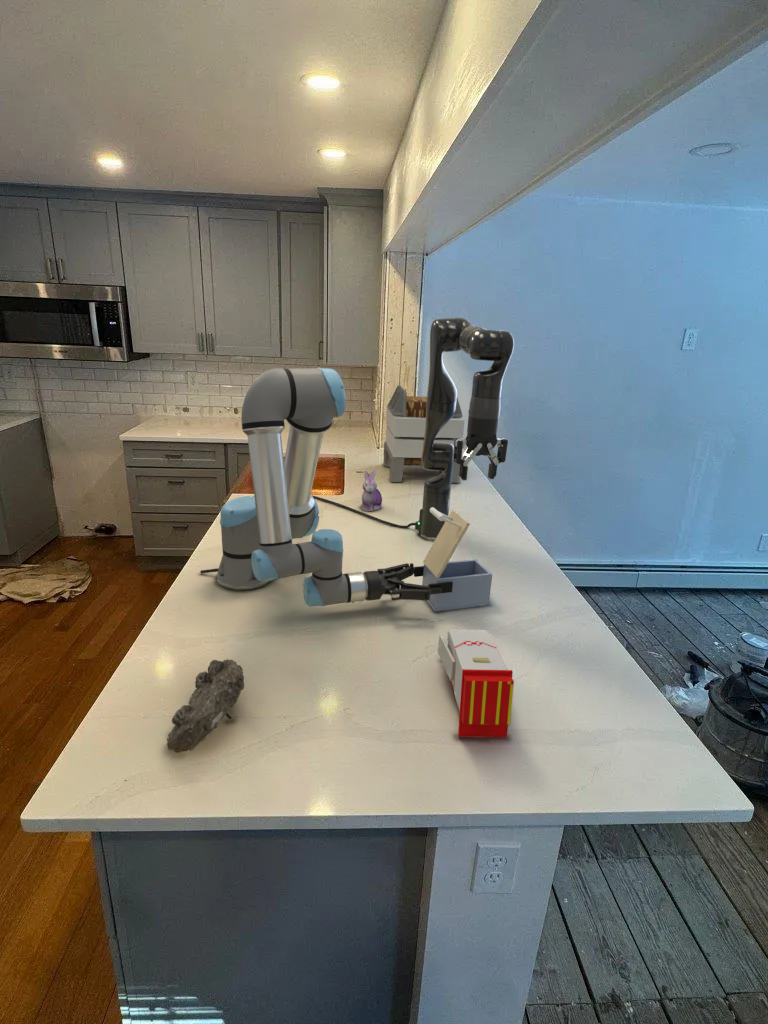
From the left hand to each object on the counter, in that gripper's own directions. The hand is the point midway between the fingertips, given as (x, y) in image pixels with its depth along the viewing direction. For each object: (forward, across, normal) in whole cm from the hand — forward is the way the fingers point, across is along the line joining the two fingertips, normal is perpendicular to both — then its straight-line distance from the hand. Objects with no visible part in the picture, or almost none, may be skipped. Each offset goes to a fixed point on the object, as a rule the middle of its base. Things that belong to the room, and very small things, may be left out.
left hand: (444, 578), depth 153 cm
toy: (-10, +38, -7) cm, 39 cm away
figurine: (+2, -77, -7) cm, 77 cm away
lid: (0, 0, +10) cm, 10 cm away
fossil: (-61, +32, -7) cm, 69 cm away
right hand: (+7, 0, +28) cm, 28 cm away
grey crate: (+39, -121, -7) cm, 128 cm away
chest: (+4, 0, -7) cm, 8 cm away
